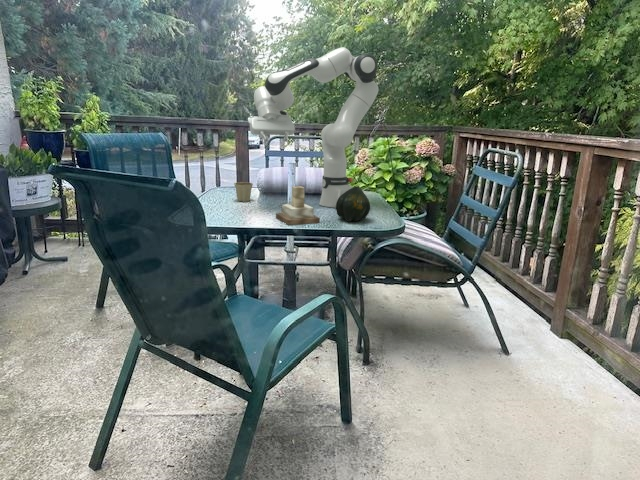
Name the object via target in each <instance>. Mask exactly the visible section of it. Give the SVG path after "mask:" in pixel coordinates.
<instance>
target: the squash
mask: <svg viewBox="0 0 640 480" xmlns="http://www.w3.org/2000/svg"><path fill="white" fill-rule="evenodd" d="M352 187H353V188H351V189H349V190H348V191H346V192H345V193H343V194H342V195H341V196H340V197H339V198H338V200H337V203H336V208H335V210H336V215H338V217H340V218H342V219H345V221H347V222H349V223H350V222H359V220H364V219H366V218H367V216H368V215H369V213H370V211H371V204H370V201H369V199H368V198H369V197H367V195H366V193H365V192H364V190H362V188H361V187H360V185H358V186H352Z"/></svg>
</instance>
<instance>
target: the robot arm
mask: <svg viewBox="0 0 640 480" xmlns="http://www.w3.org/2000/svg"><path fill="white" fill-rule="evenodd" d="M377 70H378V62H377V59H376V57H375V56H374V55H372V54H370V53H362V54H359V55H358V56H354V55H352V53H351V51H350V50H349V49H348V48H347V47H344V46H343V47H337V48H336V49H333V50H331V51H329V52H327V53H326V54H324V55H322V56H320V57H318V58H314V57H310V58H307V59H304V60H301V61H299V62H296V63H295V64H292V65H290V66H287V67H286V68H284V69H281V70H278V71H273V72H271V73H269V75H268V76H267V77H266V78H265V80H264V85H261V86H259V87H257V88H256V89H255V90H254V94H253V101H254V106H255V109H256V111H257V116H254V115H253V116H252V115H251V116H249V117H247V123H248V124H249V132H250V134H251V135H255V136H259V137H260V138H261V139H262V140H263V142H264V143H265V142H268V141H269V138H268V136H284V137H283V142H285V143H286V142H288V141H289V136H293V135H294V133H295V131H296V127H295V124H294V122H293V120H292V119H291V118H290V115H289V112H287V111H286V110H289V109H290V108H291V107H292V106H294V105H293V104H294V103H295V97H294V93H293V92H292V89H291V87H290V83H291V82H293V81H295V80H297V79H299V78H303V76H306V75H308V76H311V77H312V78H313V79H314V80H316V81H317V82H319V83H324V84H326V83H330V82H331V81H333V80H335V79H337V78H338V77H339V76H341V75H343V74H344V75H346V76H347V77H348V79H349V80H351V81H352V82H354V83H355V87H354V89H353V90H352V92H351V93H350V95H349V96H348V97H347V99H346V101H345V102H344V103H343V105H341V108H340V111H339V114H338V116H337V117H336V120H335V121H334V123H329V124H326V125H325V126H324V127H323V129H321V133H320V138H321V145H322V153H323V154H322V155H323V175H322V180H321V183H322V184H321V187H322V189H321V196H320V200H319V202H318V203H319V204H318V205H320V206H322V207H326V208H335V209H336V203H337V200H338V198H339V197H340V196H341V195H342V194H343V193H345V192H346V191H348V190H349V189H351V188H353V187H354V186H351V184H350V183H353V181H354V179H353V178H352V177H348V176H347V163H348V161H347V157H346V153H345V152H346V151H345V148H346V147H349V146H350V145H351V144H352V142H353V139H354V136H355V133H356V131H357V129H358V127H359V125H360V123H361V121H362V120H363V118H365V116H366V114H367V113H368V111H369V110H370V108H371V107H372V105H373V103H374V101H375V100H376V98H377V96H378V93H379V86H378V84H377V83H376V81H375V80H376V77H377Z"/></svg>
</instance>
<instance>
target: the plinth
mask: <svg viewBox="0 0 640 480" xmlns="http://www.w3.org/2000/svg"><path fill="white" fill-rule="evenodd" d="M314 212H315V211H314V207H313V206H310V205H308V204H306V203H304V207H293V206H292V203H287V204H281V212H276V213H275V218H276V220H278V221H280V222H282V223H283V222H284V223H283V224H285V223H286V224H285V225H287V226H294V225H296V226H297V225H308V224H309V225H310V224H319V223H321V222H320V221H321V219H320V217H318V216H316V215H314Z"/></svg>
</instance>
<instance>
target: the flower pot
mask: <svg viewBox="0 0 640 480" xmlns="http://www.w3.org/2000/svg"><path fill="white" fill-rule="evenodd" d="M233 185H234V188H235V192H236V200H237V201H238V202H243V203H245V202H250V201H251V193H252V188H253V185H254V183H252V182H248V181H246V182H241V181H240V182H234V183H233Z"/></svg>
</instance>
